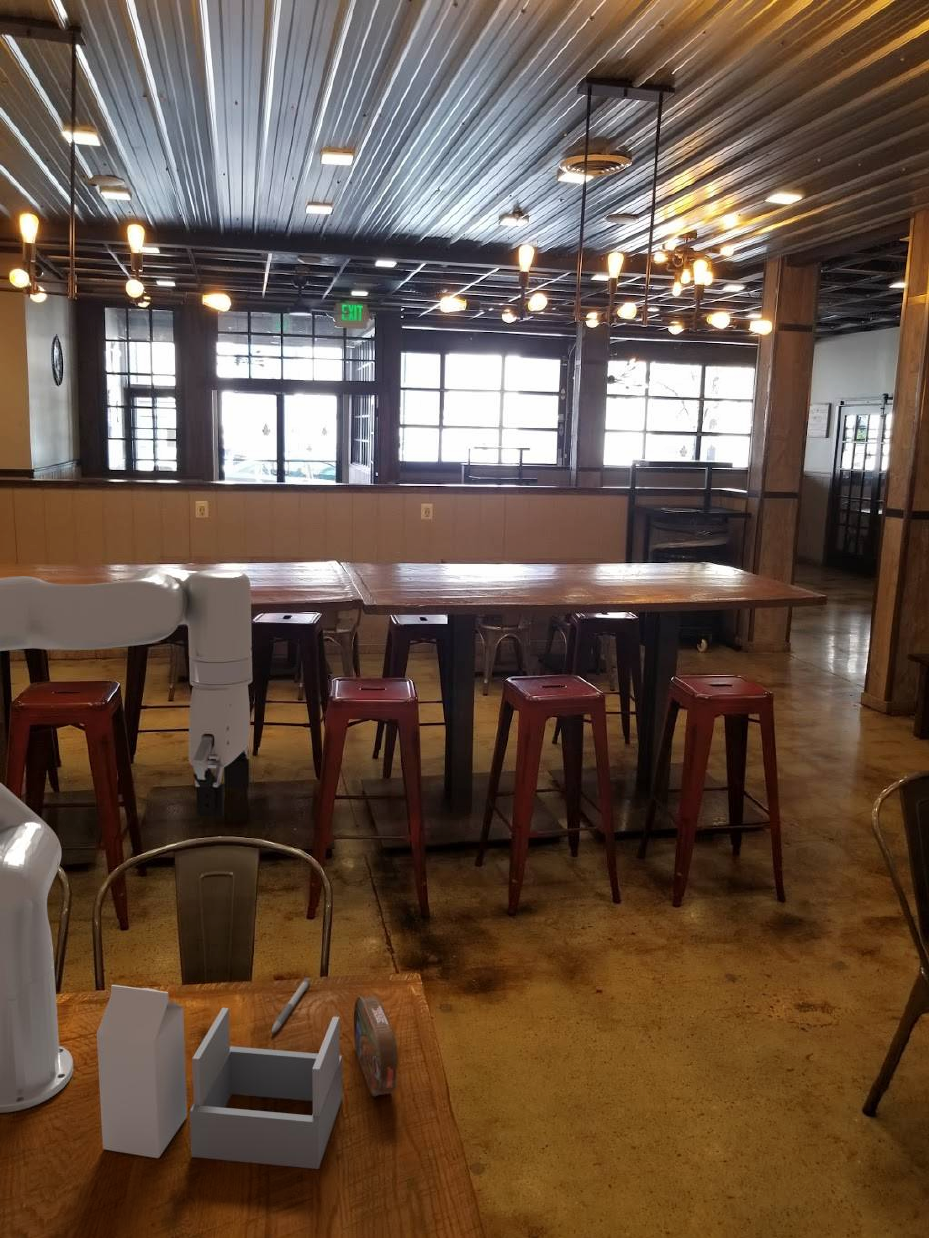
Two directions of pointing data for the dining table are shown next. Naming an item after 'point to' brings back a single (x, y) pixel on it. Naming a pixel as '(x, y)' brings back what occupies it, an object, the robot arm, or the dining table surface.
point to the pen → (290, 1005)
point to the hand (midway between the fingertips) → (224, 801)
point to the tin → (375, 1045)
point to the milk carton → (141, 1071)
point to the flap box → (263, 1076)
